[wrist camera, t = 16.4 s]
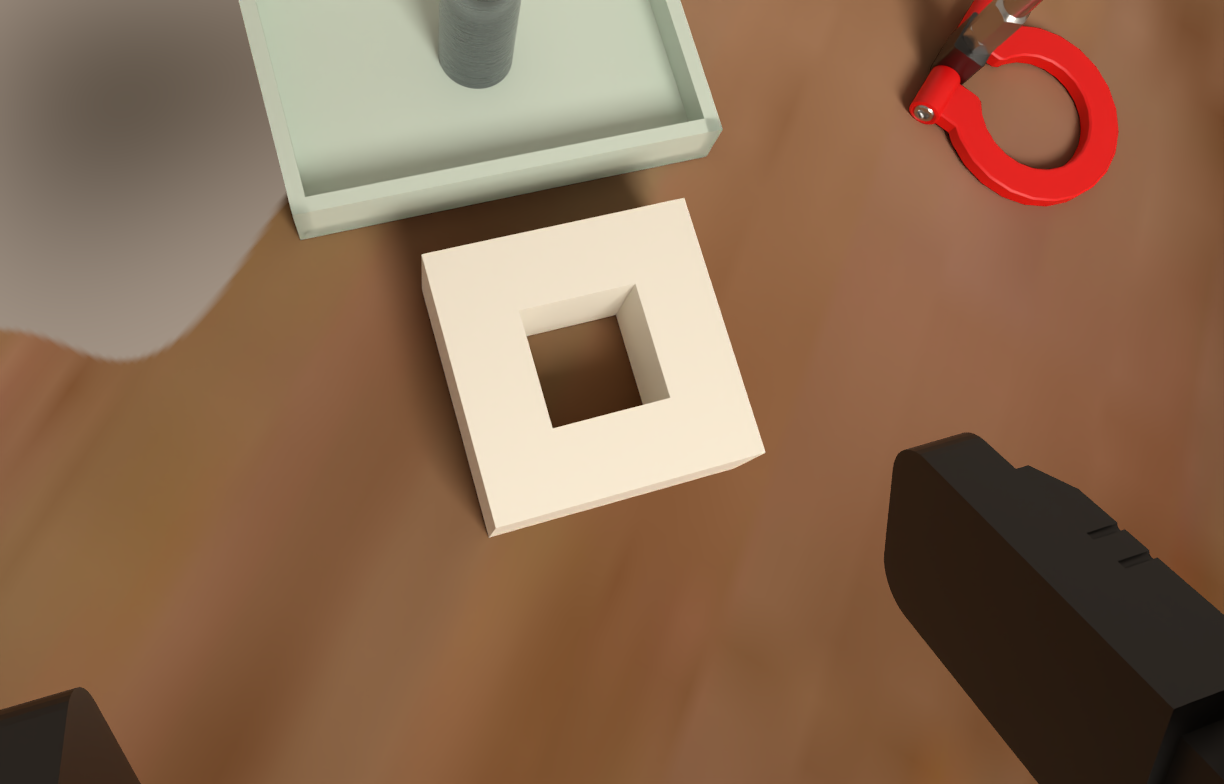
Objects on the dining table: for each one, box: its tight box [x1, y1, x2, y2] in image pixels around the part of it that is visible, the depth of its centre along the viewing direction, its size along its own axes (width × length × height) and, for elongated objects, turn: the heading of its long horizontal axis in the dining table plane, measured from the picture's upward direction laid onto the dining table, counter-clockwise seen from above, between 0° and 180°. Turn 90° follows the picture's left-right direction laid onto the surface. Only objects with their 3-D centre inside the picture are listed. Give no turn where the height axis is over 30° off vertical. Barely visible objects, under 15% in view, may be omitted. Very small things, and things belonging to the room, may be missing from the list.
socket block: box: [421, 198, 765, 537], centre depth 39 cm, size 10×10×4 cm
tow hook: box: [909, 0, 1118, 206], centre depth 41 cm, size 8×13×9 cm
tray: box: [238, 0, 723, 240], centre depth 41 cm, size 17×12×2 cm
